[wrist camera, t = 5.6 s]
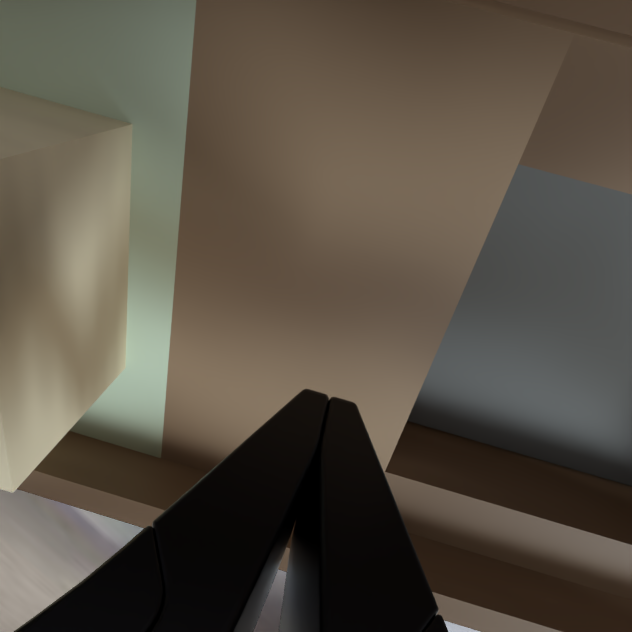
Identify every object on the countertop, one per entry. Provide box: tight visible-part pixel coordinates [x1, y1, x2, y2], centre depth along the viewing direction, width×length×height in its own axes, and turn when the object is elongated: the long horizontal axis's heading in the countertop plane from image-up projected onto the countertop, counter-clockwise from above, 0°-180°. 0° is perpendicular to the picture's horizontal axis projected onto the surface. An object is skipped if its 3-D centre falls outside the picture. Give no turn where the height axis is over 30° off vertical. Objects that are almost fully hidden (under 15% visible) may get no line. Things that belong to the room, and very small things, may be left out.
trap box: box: [0, 0, 632, 632], centre depth 10 cm, size 14×34×6 cm, turn 77°
